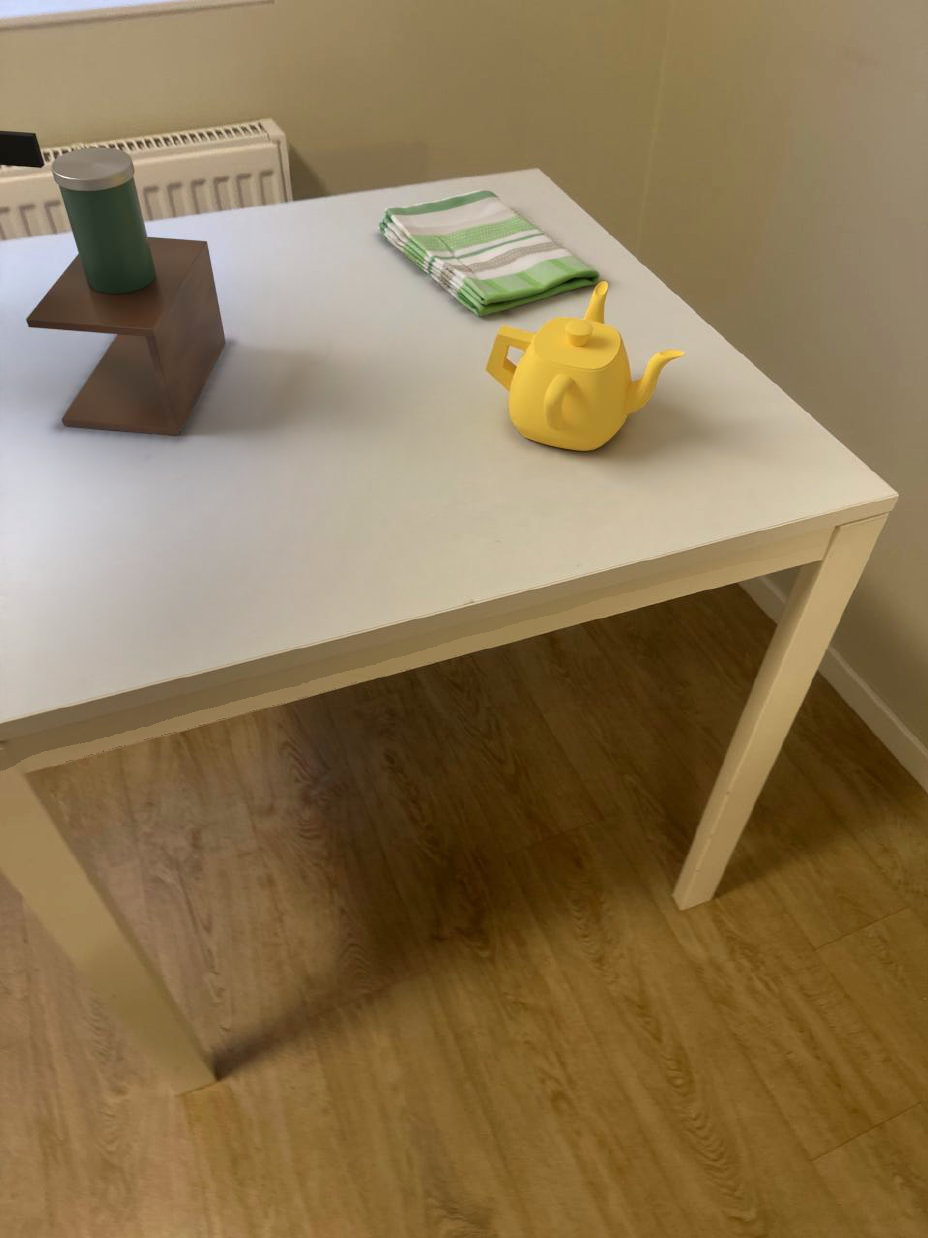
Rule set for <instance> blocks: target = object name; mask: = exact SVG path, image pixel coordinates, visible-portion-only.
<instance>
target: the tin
mask: <svg viewBox="0 0 928 1238" xmlns="http://www.w3.org/2000/svg"><path fill="white" fill-rule="evenodd" d="M50 170H51V173H52V177H53V180H54V182H55V183H56V184H57V185H58V188H59V191H60V194H61V198H62V202H63V205H64V208H65V212H66V215H67V218H68V221H69V225H70V229H71V232H72V236H73V239H74V242H75V246H76V249H77V253H78V254H79V256H80V260H81V263H82V266H83V270H84V273H85V277H86V280H87V283H88V285H89V286H90V287H91V288H92V289H94V290H96V291H98V292H102V293H107V294H123V293H129V292H134V291H137V290H140V289H142V288H144V287H146V286H148V285H149V284H151V283H152V282H153V281H154V279H155V277H156V271H155V267H154V262H153V258H152V254H151V250H150V245H149V241H148V237H149V236H148V233H147V229H146V225H145V224H146V223H145V220H144V215H143V211H142V207H141V202H140V199H139V194H138V190H137V186H136V182H135V177H134V175H135V167H134V161H133V157H131V155H130V154H129V153H127V152H126V151H124V150H121V149H118V148H113V147H103V146H101V147H100V146H97V147H95V146H94V147H84V148H79V149H74V150H71V151H68V152H65V153H63V154H61V155H59V156H58V157H56V158H54V160H53V161H52V163H51V165H50Z"/></svg>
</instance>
